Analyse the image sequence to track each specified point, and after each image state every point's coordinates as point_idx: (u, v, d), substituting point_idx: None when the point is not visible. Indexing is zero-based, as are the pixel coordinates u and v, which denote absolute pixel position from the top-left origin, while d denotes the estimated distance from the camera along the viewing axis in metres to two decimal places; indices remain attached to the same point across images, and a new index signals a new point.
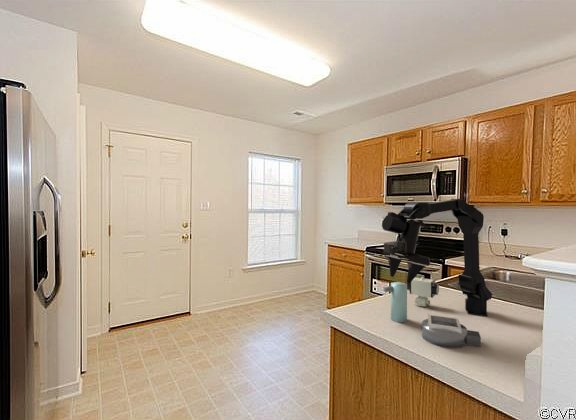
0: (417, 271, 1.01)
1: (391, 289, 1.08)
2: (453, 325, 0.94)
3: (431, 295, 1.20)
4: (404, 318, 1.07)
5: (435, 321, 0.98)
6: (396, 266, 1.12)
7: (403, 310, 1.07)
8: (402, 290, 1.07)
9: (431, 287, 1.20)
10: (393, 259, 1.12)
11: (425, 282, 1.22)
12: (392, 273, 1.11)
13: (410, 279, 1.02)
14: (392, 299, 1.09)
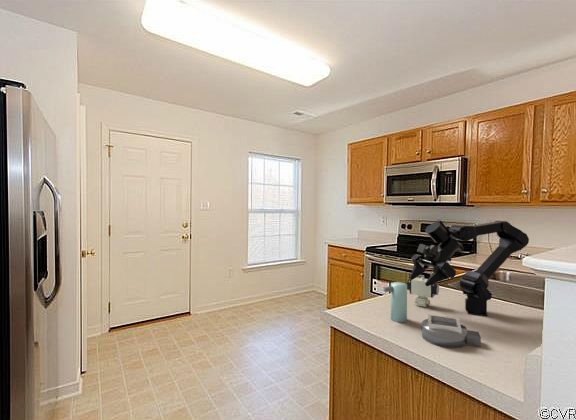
0: (439, 279, 1.06)
1: (391, 289, 1.08)
2: (453, 325, 0.94)
3: (431, 295, 1.20)
4: (404, 318, 1.07)
5: (435, 321, 0.98)
6: (418, 273, 1.17)
7: (403, 310, 1.07)
8: (402, 290, 1.07)
9: (431, 287, 1.20)
10: (419, 265, 1.17)
11: (425, 282, 1.22)
12: (412, 276, 1.16)
13: (429, 283, 1.06)
14: (392, 299, 1.09)
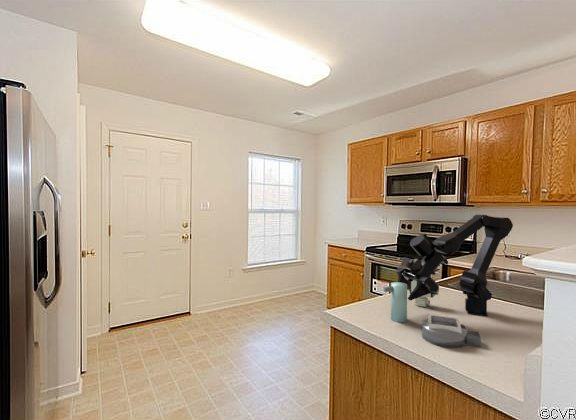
0: (422, 293, 1.05)
1: (391, 289, 1.08)
2: (453, 325, 0.94)
3: (431, 295, 1.20)
4: (404, 318, 1.07)
5: (435, 321, 0.98)
6: None
7: (403, 310, 1.07)
8: (402, 290, 1.07)
9: None
10: (403, 278, 1.16)
11: None
12: None
13: (412, 297, 1.05)
14: (392, 299, 1.09)
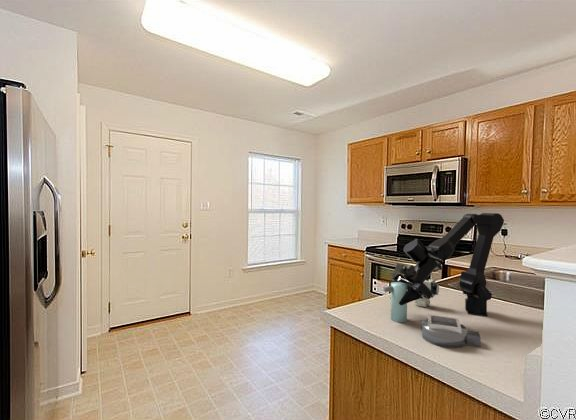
0: (413, 298, 1.06)
1: (391, 289, 1.08)
2: (453, 325, 0.94)
3: None
4: (404, 318, 1.07)
5: (435, 321, 0.98)
6: None
7: (403, 310, 1.07)
8: (402, 290, 1.07)
9: (431, 287, 1.20)
10: None
11: (425, 282, 1.22)
12: None
13: (403, 302, 1.06)
14: (392, 299, 1.09)
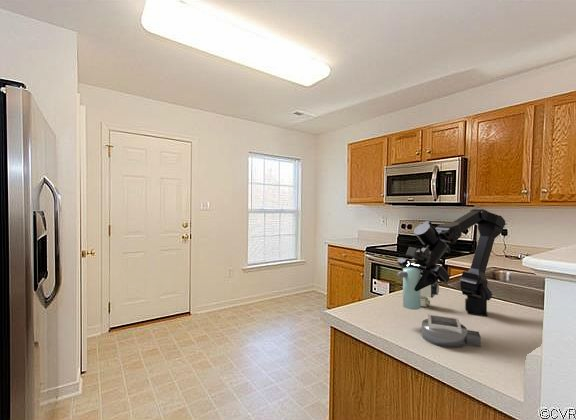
0: (428, 283, 1.00)
1: (405, 275, 1.01)
2: (453, 325, 0.94)
3: (431, 295, 1.20)
4: (419, 305, 1.01)
5: (435, 321, 0.98)
6: None
7: (418, 296, 1.01)
8: (417, 275, 1.01)
9: (431, 287, 1.20)
10: None
11: None
12: None
13: (419, 287, 1.00)
14: (406, 285, 1.02)
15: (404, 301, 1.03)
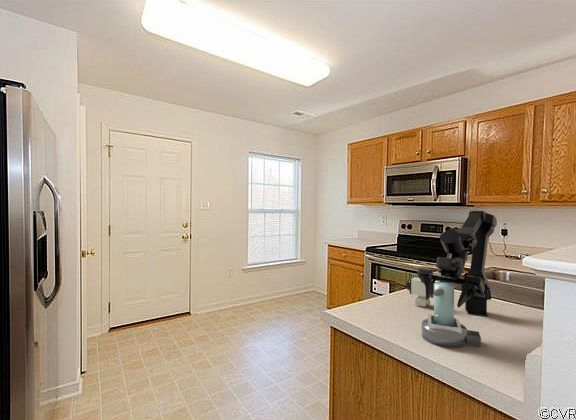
0: (468, 297, 0.91)
1: (442, 292, 0.91)
2: None
3: (431, 295, 1.20)
4: (453, 323, 0.93)
5: None
6: (431, 290, 0.99)
7: (453, 314, 0.92)
8: (453, 291, 0.92)
9: None
10: (430, 281, 0.99)
11: None
12: (428, 296, 0.97)
13: (461, 303, 0.90)
14: (441, 303, 0.92)
15: (438, 321, 0.93)
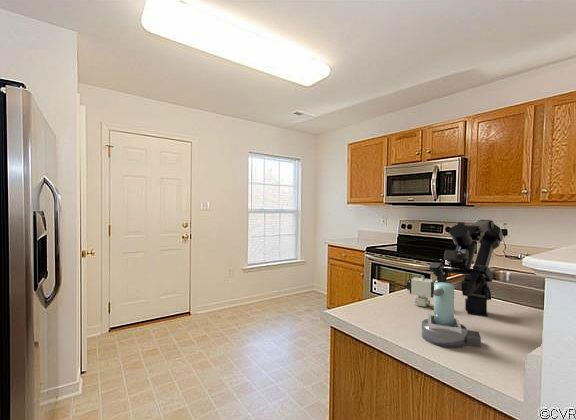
0: (477, 285, 0.97)
1: (442, 292, 0.91)
2: None
3: (431, 295, 1.20)
4: (453, 323, 0.93)
5: None
6: (443, 282, 1.06)
7: (453, 314, 0.92)
8: (453, 291, 0.92)
9: (431, 287, 1.20)
10: (442, 274, 1.06)
11: (425, 282, 1.22)
12: None
13: (470, 291, 0.96)
14: (441, 303, 0.92)
15: (438, 321, 0.93)
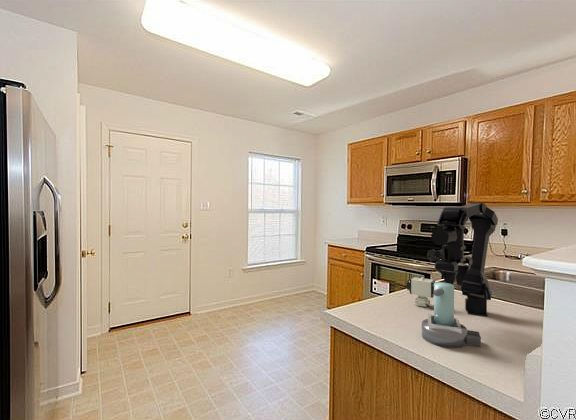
0: (451, 278, 1.00)
1: (442, 292, 0.91)
2: None
3: (431, 295, 1.20)
4: (453, 323, 0.93)
5: None
6: (462, 274, 1.07)
7: (453, 314, 0.92)
8: (453, 291, 0.92)
9: (431, 287, 1.20)
10: (457, 267, 1.09)
11: (425, 282, 1.22)
12: (458, 281, 1.08)
13: None
14: (441, 303, 0.92)
15: (438, 321, 0.93)
